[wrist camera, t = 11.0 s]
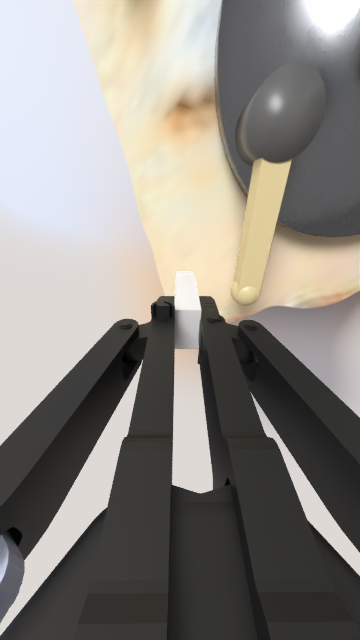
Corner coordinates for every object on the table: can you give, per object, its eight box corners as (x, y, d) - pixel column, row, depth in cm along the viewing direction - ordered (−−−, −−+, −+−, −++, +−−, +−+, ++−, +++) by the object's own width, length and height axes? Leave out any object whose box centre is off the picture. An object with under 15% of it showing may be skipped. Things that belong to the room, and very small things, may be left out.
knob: (240, 89, 17) (259, 58, 13) (302, 91, 17) (341, 60, 13) (215, 290, 26) (222, 309, 22) (255, 291, 26) (270, 310, 22)
